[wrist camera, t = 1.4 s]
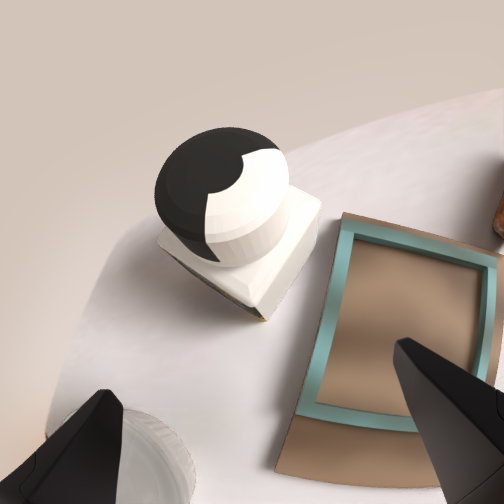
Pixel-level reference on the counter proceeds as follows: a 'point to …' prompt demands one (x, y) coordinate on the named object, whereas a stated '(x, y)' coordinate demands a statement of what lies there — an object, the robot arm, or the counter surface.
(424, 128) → the counter surface
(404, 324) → the socket board
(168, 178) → the medicine bottle
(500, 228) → the tin
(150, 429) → the ramekin
